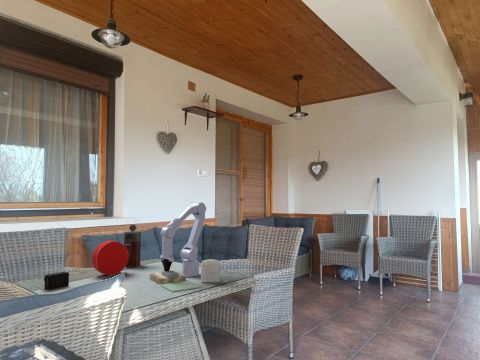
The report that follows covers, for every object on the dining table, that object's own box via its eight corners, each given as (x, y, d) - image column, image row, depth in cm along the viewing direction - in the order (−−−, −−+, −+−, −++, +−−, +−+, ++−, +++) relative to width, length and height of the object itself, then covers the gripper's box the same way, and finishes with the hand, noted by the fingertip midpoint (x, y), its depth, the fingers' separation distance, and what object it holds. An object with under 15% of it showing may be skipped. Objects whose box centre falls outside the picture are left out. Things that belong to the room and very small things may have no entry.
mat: (187, 281, 190) (187, 280, 190) (201, 287, 177) (201, 286, 177) (159, 285, 181) (159, 284, 181) (172, 292, 168) (172, 291, 168)
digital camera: (62, 284, 182) (63, 271, 183) (68, 285, 179) (69, 272, 180) (42, 288, 173) (43, 274, 174) (48, 290, 170) (49, 275, 171)
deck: (174, 275, 204) (174, 270, 204) (185, 281, 191) (185, 275, 191) (149, 279, 195) (149, 273, 195) (160, 284, 182) (160, 279, 182)
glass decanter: (122, 267, 226) (123, 225, 228) (127, 264, 237) (128, 224, 239) (135, 267, 226) (136, 225, 228) (140, 264, 238) (141, 224, 239)
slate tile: (172, 274, 195) (172, 270, 195) (178, 277, 187) (178, 273, 187) (162, 275, 191) (162, 271, 192) (168, 278, 184) (168, 274, 184)
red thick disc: (123, 271, 215) (124, 239, 217) (128, 272, 211) (129, 240, 212) (91, 276, 201) (92, 241, 202) (95, 277, 197) (96, 242, 198)
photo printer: (219, 281, 192) (219, 258, 192) (219, 282, 187) (219, 260, 188) (201, 281, 191) (201, 258, 192) (200, 283, 187) (201, 260, 187)
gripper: (155, 247, 199) (155, 271, 198) (165, 250, 187) (165, 275, 186) (167, 246, 202) (166, 269, 202) (177, 249, 191) (177, 274, 190)
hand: (166, 272), depth 194 cm, fingers closed
